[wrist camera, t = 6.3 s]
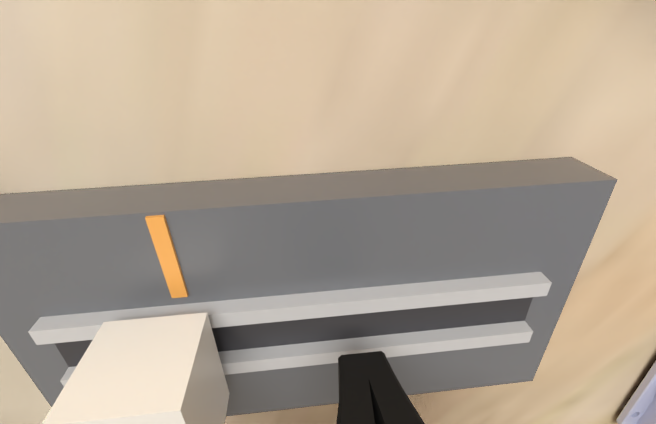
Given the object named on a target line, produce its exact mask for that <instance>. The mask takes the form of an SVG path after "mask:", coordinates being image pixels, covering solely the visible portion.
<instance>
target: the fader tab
mask: <svg viewBox="0 0 656 424" xmlns="http://www.w3.org/2000/svg"><path fill="white" fill-rule="evenodd" d="M228 400H229V390H228V386H227V383H226V379H225V375H224V372H223V368H222V364H221V361H220V357H219V353H218V350H217V346H216V342H215V339H214V335H213V332H212V328H211V324H210V321H209V317H208V313H207V312H206V313H195V314H185V315H174V316H163V317H152V318H142V319H131V320H120V321H109V322H103V324H102V325H101V327H100V329H99V330H98V332H97V334H96V335H95V337H94V339H93V340H92V342H91V343H90V345H89V347H88V348H87V350H86V352H85V353H84V355H83V357H82V358H81V360H80V362H79V363H78V365H77V367H76V368H75V370H74V371H73V373H72V375H71V376H70V378H69V380H68V381H67V383H66V385H65V386H64V388H63V390H62V391H61V393H60V395H59V396H58V398H57V400H56V401H55V403H54V404H53V406H52V408H51V409H50V411H49V413H48V414H47V416H46V418H45V419H44V421H43V423H42V424H225V419H226V412H227V406H228Z"/></svg>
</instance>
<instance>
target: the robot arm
mask: <svg viewBox="0 0 656 424" xmlns="http://www.w3.org/2000/svg"><path fill="white" fill-rule="evenodd" d="M338 382H339V406H338V415H337V424H425V423H424V422H423V420H422V419H421V417H420V416H419V414H418V412H417V411H416V409H415V408H414V406H413V405H412V403H411V401H410V400H409V398H408V396H407V395H406V393H405V391H404V390H403V388H402V386H401V384H400V383H399V381H398V379H397V377H396V375H395V374H394V372H393V370H392V368H391V366H390V364H389V362H388V360H387V358H386V356H385V353H383V352H382V351H376V352H366V353H356V354H346V355H341V356H340V357H339V358H338ZM616 422H617V423H618V424H656V361H655V362H654V364H653V365H652V367H651V368H650V370H649V371H648V373H647V374H646V376H645V377H644V379H643V380H642V382H641V383H640V385H639V386H638V388H637V389H636V391H635V392H634V394H633V395H632V397H631V398H630V400H629V401H628V403H627V404H626V406H625V407H624V409H623V410H622V412H621V413H620V415H619V416H618V418H617V419H616Z"/></svg>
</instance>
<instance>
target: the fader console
mask: <svg viewBox="0 0 656 424" xmlns="http://www.w3.org/2000/svg"><path fill="white" fill-rule="evenodd" d="M616 182H617V179H615V178H613V177H611V176H609V175H607V174H605V173H603V172H601V171H599V170H597V169H595V168H593V167H591V166H589V165H587V164H585V163H583V162H581V161H579V160H576V159H574V158H572V157H566V158H551V159H535V160H520V161H504V162H489V163H474V164H458V165H443V166H428V167H412V168H397V169H381V170H366V171H351V172H335V173H320V174H305V175H289V176H274V177H258V178H243V179H228V180H212V181H197V182H181V183H166V184H151V185H135V186H120V187H105V188H89V189H74V190H58V191H43V192H28V193H12V194H0V336H1V337H2V338H3V340H4V341H5V343H6V344H7V345H8V347H9V348H10V350H11V351H12V352H13V354H14V355H15V357H16V358H17V359H18V361H19V362H20V364H21V365H22V366H23V368H24V369H25V371H26V372H27V373H28V375H29V376H30V378H31V379H32V380H33V382H34V383H35V385H36V386H37V387H38V389H39V390H40V392H41V393H42V394H43V396H44V397H45V399H46V400H47V401H48V403H49V404H50V406H51V407H52V406H53V404H54V403H55V401H56V400H57V398H58V396H59V395H60V393H61V391H62V390H63V388H64V386H65V385H66V383H67V381H68V380H69V378H70V376H71V375H72V373H73V371H74V370H75V368H76V367H77V365H78V363H79V362H80V360H81V358H82V357H83V355H84V353H85V352H86V350H87V348H88V347H89V345H90V343H91V342H92V340H93V339H94V337H95V335H96V334H97V332H98V330H99V329H100V327H101V325H102V324H103V322H109V321H120V320H131V319H142V318H152V317H163V316H174V315H185V314H195V313H206V312H207V313H208V317H209V321H210V324H211V328H212V332H213V335H214V339H215V342H216V346H217V350H218V353H219V357H220V361H221V364H222V368H223V372H224V375H225V379H226V383H227V386H228V390H229V400H228V406H227V412H226V416H232V415H241V414H250V413H258V412H267V411H276V410H284V409H293V408H302V407H310V406H319V405H327V404H336V403H339V382H338V358H339V357H340V356H341V355H346V354H356V353H366V352H376V351H382V352H383V353H385V356H386V358H387V360H388V362H389V364H390V366H391V368H392V370H393V372H394V374H395V375H396V377H397V379H398V381H399V383H400V384H401V386H402V388H403V390H404V391H405V393H406V395H414V394H422V393H431V392H440V391H448V390H457V389H466V388H474V387H483V386H492V385H500V384H509V383H518V382H526V381H533V378H534V376H535V373H536V371H537V369H538V366H539V364H540V362H541V359H542V357H543V354H544V352H545V350H546V347H547V345H548V343H549V340H550V338H551V336H552V333H553V331H554V328H555V326H556V324H557V321H558V319H559V317H560V314H561V312H562V310H563V307H564V305H565V302H566V300H567V298H568V295H569V293H570V291H571V288H572V286H573V283H574V281H575V279H576V276H577V274H578V272H579V269H580V267H581V265H582V262H583V260H584V257H585V255H586V253H587V250H588V248H589V246H590V243H591V241H592V238H593V236H594V234H595V231H596V229H597V227H598V224H599V222H600V220H601V217H602V215H603V212H604V210H605V208H606V205H607V203H608V201H609V198H610V196H611V194H612V191H613V189H614V186H615V184H616Z"/></svg>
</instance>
